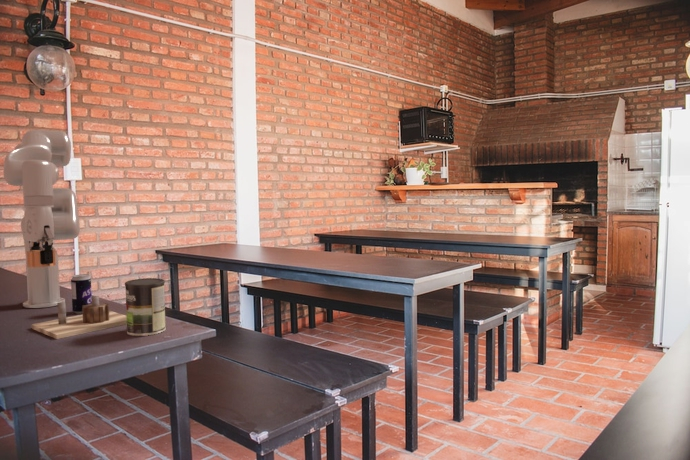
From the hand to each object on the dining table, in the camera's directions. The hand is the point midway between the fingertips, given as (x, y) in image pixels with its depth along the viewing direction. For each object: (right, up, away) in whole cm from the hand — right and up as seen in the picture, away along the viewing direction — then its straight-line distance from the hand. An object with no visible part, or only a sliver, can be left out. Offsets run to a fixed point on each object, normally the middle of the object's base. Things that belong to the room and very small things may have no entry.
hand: (41, 262), depth 151 cm
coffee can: (+34, -19, -8) cm, 40 cm away
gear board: (+13, -18, -2) cm, 23 cm away
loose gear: (0, -1, 0) cm, 1 cm away
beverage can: (+5, -17, +14) cm, 23 cm away
